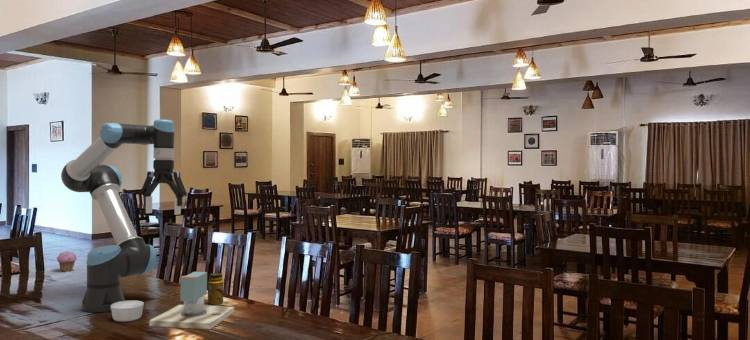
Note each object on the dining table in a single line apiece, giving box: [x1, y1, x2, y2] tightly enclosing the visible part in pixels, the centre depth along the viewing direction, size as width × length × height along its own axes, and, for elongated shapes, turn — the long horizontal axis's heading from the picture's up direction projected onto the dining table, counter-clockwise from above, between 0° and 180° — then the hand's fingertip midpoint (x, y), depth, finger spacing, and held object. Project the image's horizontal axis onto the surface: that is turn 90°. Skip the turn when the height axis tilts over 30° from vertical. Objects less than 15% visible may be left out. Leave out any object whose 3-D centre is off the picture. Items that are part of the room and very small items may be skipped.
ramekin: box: [110, 299, 145, 323], centre depth 201 cm, size 11×11×5 cm
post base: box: [148, 304, 235, 330], centre depth 202 cm, size 22×22×2 cm
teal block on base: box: [179, 271, 208, 314], centre depth 202 cm, size 12×7×14 cm, turn 176°
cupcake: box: [56, 251, 77, 273], centre depth 285 cm, size 9×9×10 cm
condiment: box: [204, 272, 227, 306], centre depth 224 cm, size 7×8×12 cm
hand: (163, 213), depth 216 cm, fingers open, 13 cm apart
